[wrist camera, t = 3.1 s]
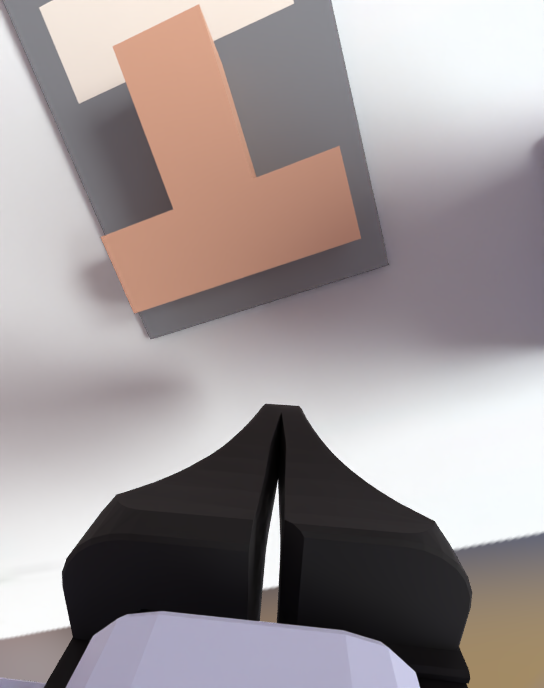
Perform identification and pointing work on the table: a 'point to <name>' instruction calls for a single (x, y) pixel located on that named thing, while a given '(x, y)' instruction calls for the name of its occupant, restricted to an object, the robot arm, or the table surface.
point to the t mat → (252, 109)
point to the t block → (214, 178)
